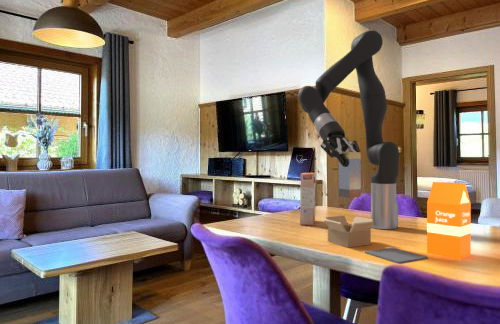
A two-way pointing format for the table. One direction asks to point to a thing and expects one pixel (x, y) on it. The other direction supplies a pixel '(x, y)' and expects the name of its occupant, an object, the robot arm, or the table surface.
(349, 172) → the tall two-tone pillar
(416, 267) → the table surface
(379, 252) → the felt mat
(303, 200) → the cracker box
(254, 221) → the table surface
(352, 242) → the carton
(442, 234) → the orange juice
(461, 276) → the table surface
